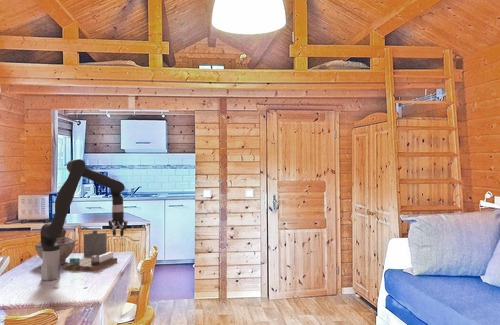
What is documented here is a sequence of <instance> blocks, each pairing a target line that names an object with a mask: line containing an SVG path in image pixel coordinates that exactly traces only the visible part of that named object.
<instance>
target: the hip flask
mask: <svg viewBox="0 0 500 325" xmlns="http://www.w3.org/2000/svg"><path fill="white" fill-rule="evenodd" d="M91 231H92V232H87V233H83V258H84V257H87V256H94V255H102V254H105V253H108V251H107V250H108V249H107V248H108V247H107V246H108V245H107V243H108V242H107V241H108V238H107V232H98V231H99V230H98V229H93V230H91Z"/></svg>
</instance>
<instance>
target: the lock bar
mask: <svg viewBox="0 0 500 325" xmlns="http://www.w3.org/2000/svg"><path fill="white" fill-rule="evenodd" d="M111 258H114V251H107V253H105V254H102V255H94V256H91V265H98V264H99V263H101V262H104V261H106V260H109V259H111Z"/></svg>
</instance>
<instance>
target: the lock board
mask: <svg viewBox="0 0 500 325" xmlns="http://www.w3.org/2000/svg"><path fill="white" fill-rule="evenodd" d="M113 263H114V264H117V263H118V257H113V258H111V259H109V260H106V261H104V262H101V263H99V264H98V265H91V256H87V257H84V256H83V257H81V258H80V257H70V258H69V262H67V263H64V264H62V265H63V270H65V271H67V270H68V271H78V272H79V271H80V272H81V271H82V272H97V271H100V270H102V269H105V268H106V267H108V266H111V265H113Z"/></svg>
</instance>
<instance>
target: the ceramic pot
mask: <svg viewBox="0 0 500 325" xmlns="http://www.w3.org/2000/svg"><path fill="white" fill-rule="evenodd" d="M66 233H67V229H66V228H65V227H63V230H62V233H61V235H60V236H59V237H58V238H57V239H56V241H57V243H58V244H59V246H60V266H61V265H65V264H66V259H67V258H69V256H70V255H71V254H72V253H73V251H74V248H75V245H76V244H75V242H76V241H75V240H74V239H72V238H70V237H68V236H66V235H67V234H66ZM34 248H35V251H36V254H37V255H38V256H39V258H40V259H42V260H43V249H42V246H41V240H40V241H38V242H37V243H36V244H35V246H34Z"/></svg>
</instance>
